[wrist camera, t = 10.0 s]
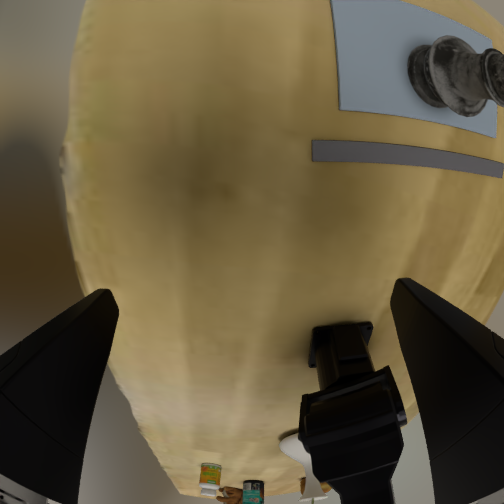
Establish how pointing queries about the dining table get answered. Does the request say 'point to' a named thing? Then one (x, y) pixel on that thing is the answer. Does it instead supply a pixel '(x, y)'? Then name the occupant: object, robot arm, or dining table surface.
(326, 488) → the bread roll
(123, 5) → the dining table surface
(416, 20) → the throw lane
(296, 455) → the flower in vase
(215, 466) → the supplement bottle
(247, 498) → the beverage can
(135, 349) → the dining table surface
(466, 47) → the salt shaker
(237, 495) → the stuffed squirrel
